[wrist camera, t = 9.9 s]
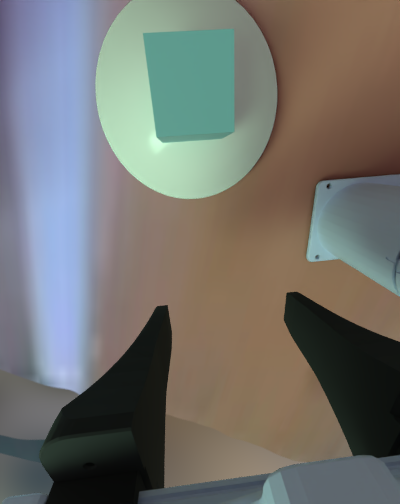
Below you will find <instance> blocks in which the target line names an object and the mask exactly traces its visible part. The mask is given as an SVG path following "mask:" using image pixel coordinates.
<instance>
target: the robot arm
mask: <svg viewBox="0 0 400 504" xmlns="http://www.w3.org/2000/svg"><path fill="white" fill-rule="evenodd" d="M327 184H329V187H328V188H326V186H327ZM316 255H318V256H317V257H316V258H315V256H316ZM306 258H307V260H309V261H310V262H314V261H324V260H334V259H341V260H342V261H344V262H345V263H347V264H348V265H350V266H352V267H353V268H355V269H356V270H358V271H360V272H361V273H363V274H364V275H366V276H368V277H369V278H371V279H372V280H374V281H375V282H377V283H379V284H380V285H382V286H383V287H385V288H387V289H388V290H390V291H391V292H393V293H395V294H396V295H398V296H399V297H400V174H395V175H383V176H371V177H359V178H347V179H335V180H323V181H320V182H318V184H317V186H316V192H315V199H314V206H313V213H312V220H311V227H310V234H309V242H308V249H307V256H306ZM284 321H285V323H286V326H287V328H288V330H289V332H290V334H291V336H292V338H293V339H294V341H295V343H296V344H297V346H298V347H299V349H300V351H301V352H302V354H303V355H304V357H305V358H306V360H307V362H308V363H309V365H310V366H311V368H312V369H313V371H314V373H315V375H316V376H317V378H318V380H319V382H320V384H321V386H322V388H323V390H324V392H325V394H326V396H327V398H328V400H329V402H330V404H331V406H332V409H333V411H334V413H335V415H336V417H337V419H338V422H339V424H340V426H341V428H342V431H343V433H344V435H345V437H346V440H347V442H348V444H349V447H350V449H351V452H352V454H353V456H351V457H343V458H336V459H329V460H322V461H315V462H307V463H300V464H294V465H290V466H286V467H283V468H280V469H278V470H276V471H275V472H273V473H269V474H261V475H255V476H247V477H240V478H233V479H226V480H219V481H211V482H205V483H198V484H190V485H183V486H176V487H169V488H164V454H165V412H166V391H167V382H168V374H169V366H170V358H171V349H172V330H171V324H170V318H169V311H168V305H165V306H157V307H156V308H155V310H154V312H153V314H152V316H151V317H150V319H149V321H148V322H147V324H146V325H145V327H144V328H143V330H142V331H141V333H140V334H139V336H138V337H137V338H136V340H135V341H134V342H133V344H132V345H131V346H130V348H129V349H128V350H127V351H126V352H125V354H124V355H123V356H122V357H121V358H120V359H119V360H118V361H117V362H116V363H115V364H114V365H113V366H112V367H111V368H110V369H109V370H108V371H107V372H106V373H105V374H104V375H103V376H102V377H101V378H100V379H99V380H98V381H96V382H95V383H94V384H93V385H92V386H91V387H89V388H88V389H87V390H86V391H84V392H83V393H82V394H81V395H79V396H78V397H77V398H75V399H74V400H73V401H71V402H70V403H69V404H67V405H66V406H64V407H63V408H62V409H61V411H60V413H59V415H58V416H57V418H56V419H55V421H54V423H53V425H52V427H51V429H50V431H49V433H48V435H47V438H46V440H45V442H44V444H43V446H42V448H41V450H40V454H39V458H40V461H41V463H42V465H43V466H44V468H45V470H46V471H47V472H48V474H49V475H50V477H51V478H52V479H53V481H54V483H53V486H52V488H51V491H50V493H49V496H48V495H47V494H44V493H33V494H26V495H19V496H12V497H7V498H6V499H4V500H3V502H2V504H400V342H398V341H395V340H393V339H390V338H387V337H385V336H382V335H379V334H377V333H375V332H372V331H370V330H367V329H365V328H363V327H361V326H358V325H356V324H354V323H352V322H350V321H348V320H346V319H344V318H342V317H340V316H338V315H337V314H335V313H333V312H331V311H329V310H327V309H326V308H324V307H322V306H321V305H319V304H317V303H315V302H314V301H312V300H310V299H309V298H307V297H305V296H304V295H302V294H300V293H298V292H290V293H287V295H286V304H285V314H284Z"/></svg>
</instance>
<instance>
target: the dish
mask: <svg viewBox="0 0 400 504" xmlns="http://www.w3.org/2000/svg"><path fill="white" fill-rule="evenodd" d="M217 29H234V128H235V132H233V133H232V134H230V135H228V136H226V137H224V138H222V139H213V140H199V141H184V142H170V143H162V142H161V141H160V140H159V139H158V138H157V137H156V130H155V122H154V115H153V107H152V100H151V92H150V84H149V77H148V69H147V61H146V54H145V46H144V39H143V33H153V32H174V31H195V30H217ZM96 101H97V107H98V114H99V117H100V121H101V124H102V128H103V130H104V133H105V135H106V138H107V140H108V142H109V144H110V146H111V148H112V150H113V152H114V153H115V154H116V156H117V157H118V159H119V160H120V162H121V163H122V164H123V165H124V166H125V168H126V169H127V170H128V171H129V172H130V173H131V174H132V175H133V176H134V177H135V178H137V179H138V180H139V181H140V182H142V183H143V184H145V185H146V186H148V187H149V188H151V189H153V190H155V191H157V192H160V193H162V194H165V195H168V196H172V197H176V198H184V199H197V198H204V197H208V196H212V195H215V194H218V193H220V192H222V191H224V190H226V189H228V188H230V187H231V186H233V185H235V184H236V183H237V182H238V181H240V180H241V179H242V178H243V177H244V176H245V175H246V174H247V173H248V172H249V171H250V170H251V169H252V168H253V166H254V165H255V164H256V162H257V161H258V159H259V158H260V156H261V155H262V153H263V151H264V149H265V147H266V145H267V143H268V141H269V138H270V135H271V132H272V129H273V125H274V120H275V116H276V108H277V81H276V72H275V68H274V63H273V59H272V56H271V53H270V50H269V47H268V44H267V42H266V40H265V38H264V36H263V34H262V32H261V30H260V29H259V27H258V26H257V24H256V22H255V21H254V19H253V18H252V17H251V16H250V15H249V14H248V12H247V11H246V10H245V9H244V8H243V7H242V6H241V5H240V4H239V3H238V2H236V1H235V0H132V1H131V2H129V3H128V4H127V5H126V7H125V8H124V9H123V10H122V11H121V12H120V13H119V14H118V16H117V17H116V19H115V20H114V22H113V23H112V25H111V26H110V28H109V31H108V33H107V35H106V37H105V39H104V42H103V45H102V48H101V51H100V54H99V59H98V64H97V70H96Z"/></svg>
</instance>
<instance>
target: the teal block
mask: <svg viewBox="0 0 400 504" xmlns="http://www.w3.org/2000/svg"><path fill="white" fill-rule="evenodd" d="M143 39H144V46H145V54H146V61H147V69H148V77H149V84H150V92H151V100H152V107H153V115H154V122H155V130H156V137H157V138H158V139H159V140H160V141H161V142H162V143H170V142H184V141H199V140H213V139H222V138H224V137H226V136H228V135H230V134H232V133H233V132H235V128H234V29H217V30H195V31H174V32H153V33H143Z"/></svg>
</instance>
